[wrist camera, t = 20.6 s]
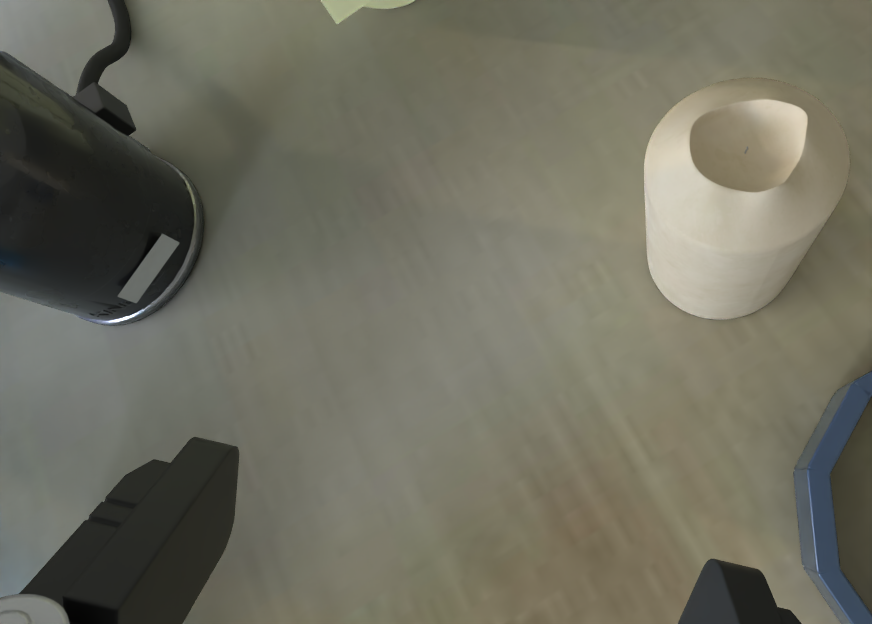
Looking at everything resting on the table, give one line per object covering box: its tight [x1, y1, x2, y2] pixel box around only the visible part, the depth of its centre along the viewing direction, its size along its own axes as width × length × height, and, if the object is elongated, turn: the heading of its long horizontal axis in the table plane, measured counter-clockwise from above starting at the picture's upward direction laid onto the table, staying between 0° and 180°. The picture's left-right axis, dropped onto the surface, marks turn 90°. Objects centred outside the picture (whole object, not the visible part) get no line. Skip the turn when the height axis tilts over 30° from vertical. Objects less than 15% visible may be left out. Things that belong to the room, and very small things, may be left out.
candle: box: [644, 78, 850, 319], centre depth 23 cm, size 6×6×10 cm
